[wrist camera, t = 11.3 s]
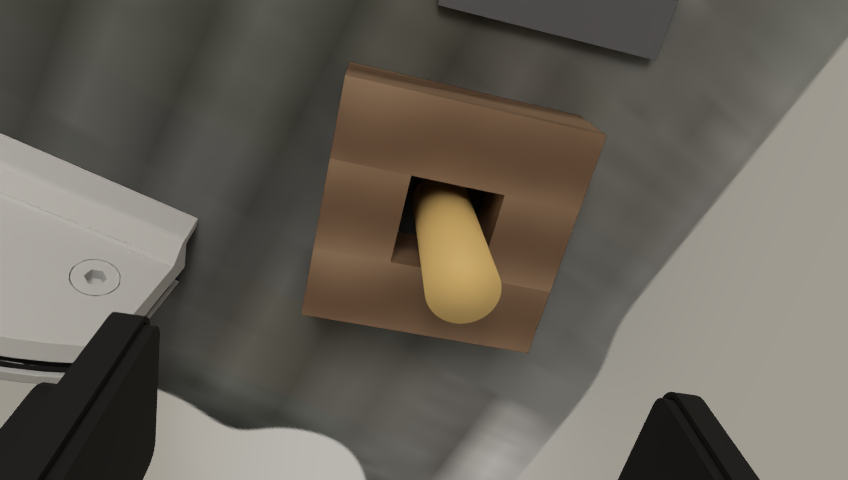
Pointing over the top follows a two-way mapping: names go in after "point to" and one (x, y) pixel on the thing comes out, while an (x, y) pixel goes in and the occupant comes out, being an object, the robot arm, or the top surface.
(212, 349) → the top surface
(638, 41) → the mat
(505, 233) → the hole block
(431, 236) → the peg
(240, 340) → the top surface
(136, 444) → the robot arm
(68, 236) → the white plastic device case
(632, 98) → the top surface
